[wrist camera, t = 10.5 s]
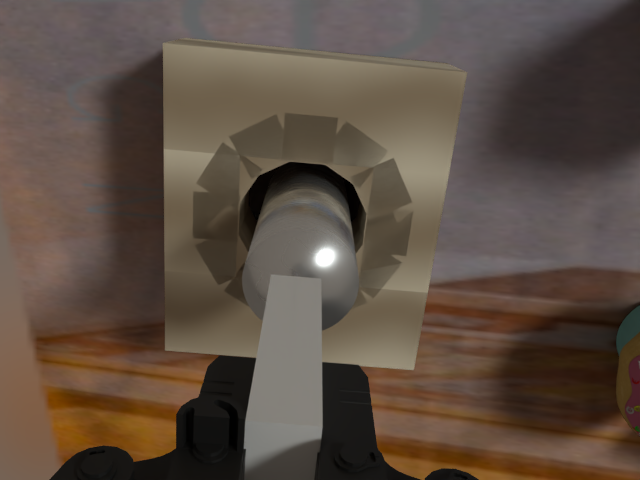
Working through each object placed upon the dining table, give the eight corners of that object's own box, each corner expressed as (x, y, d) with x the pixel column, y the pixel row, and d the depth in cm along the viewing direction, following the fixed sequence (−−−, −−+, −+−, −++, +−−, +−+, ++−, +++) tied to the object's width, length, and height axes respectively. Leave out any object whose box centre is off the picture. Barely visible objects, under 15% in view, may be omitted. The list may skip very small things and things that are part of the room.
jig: (402, 327, 32) (413, 369, 28) (183, 310, 32) (165, 350, 28) (446, 63, 27) (467, 72, 23) (185, 37, 27) (162, 43, 23)
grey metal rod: (342, 237, 30) (352, 338, 21) (264, 230, 30) (239, 329, 21) (351, 161, 29) (365, 233, 19) (269, 153, 29) (244, 223, 19)
